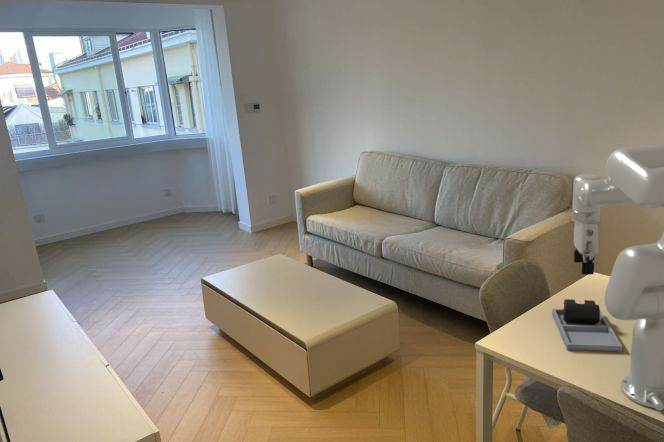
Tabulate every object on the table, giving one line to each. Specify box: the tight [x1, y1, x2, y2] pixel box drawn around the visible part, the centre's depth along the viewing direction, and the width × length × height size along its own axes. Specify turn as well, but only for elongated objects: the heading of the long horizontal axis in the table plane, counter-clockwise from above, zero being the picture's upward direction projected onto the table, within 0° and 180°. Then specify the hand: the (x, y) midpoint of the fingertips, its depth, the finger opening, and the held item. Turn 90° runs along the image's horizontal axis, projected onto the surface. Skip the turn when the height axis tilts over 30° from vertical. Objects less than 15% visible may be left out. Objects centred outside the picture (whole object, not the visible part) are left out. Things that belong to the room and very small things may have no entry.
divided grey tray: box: [551, 308, 623, 353], centre depth 155 cm, size 22×15×2 cm, turn 167°
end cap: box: [562, 298, 601, 324], centre depth 159 cm, size 10×7×7 cm
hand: (583, 267), depth 154 cm, fingers open, 9 cm apart
